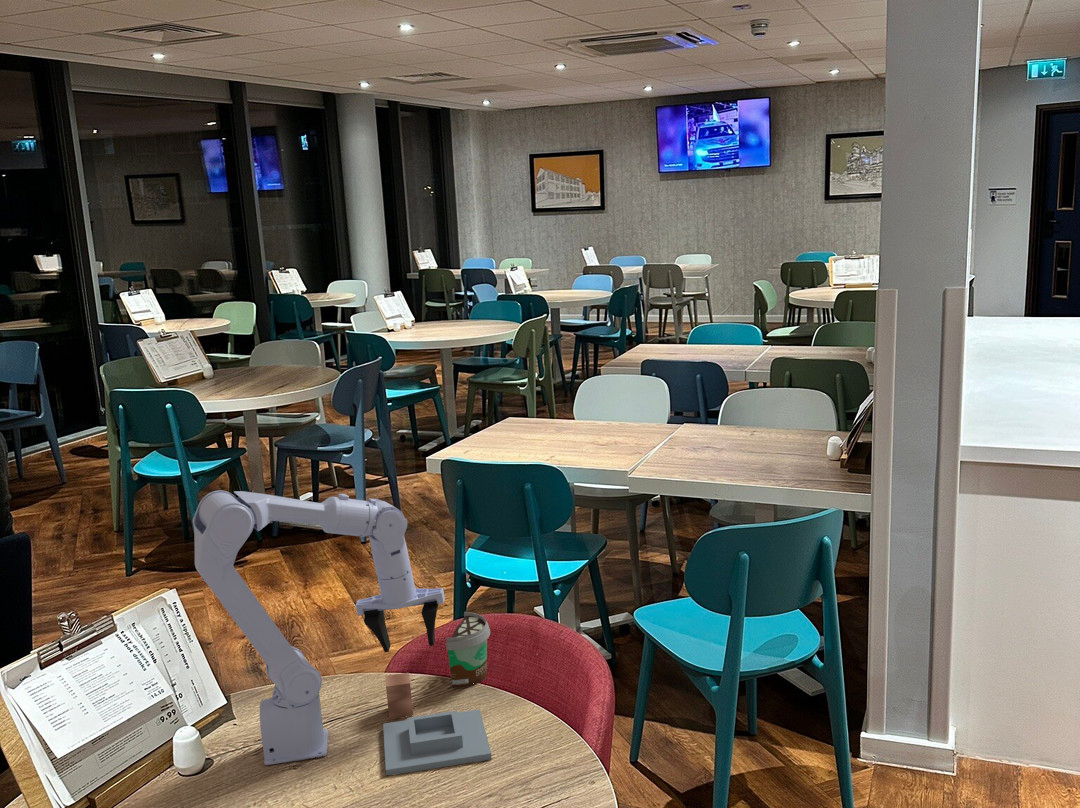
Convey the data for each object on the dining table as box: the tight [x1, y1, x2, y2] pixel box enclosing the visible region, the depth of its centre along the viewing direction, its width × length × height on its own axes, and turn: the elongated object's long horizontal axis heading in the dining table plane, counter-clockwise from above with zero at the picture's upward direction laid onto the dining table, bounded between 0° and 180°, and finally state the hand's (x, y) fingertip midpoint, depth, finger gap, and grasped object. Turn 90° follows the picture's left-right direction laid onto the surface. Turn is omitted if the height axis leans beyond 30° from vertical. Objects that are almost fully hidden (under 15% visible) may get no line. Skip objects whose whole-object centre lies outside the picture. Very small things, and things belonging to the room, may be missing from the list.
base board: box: [382, 709, 493, 776], centre depth 151 cm, size 16×14×3 cm
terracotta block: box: [384, 672, 414, 720], centre depth 162 cm, size 4×4×6 cm
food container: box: [445, 611, 491, 689], centre depth 172 cm, size 12×6×10 cm, turn 168°
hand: (409, 646), depth 160 cm, fingers open, 7 cm apart
